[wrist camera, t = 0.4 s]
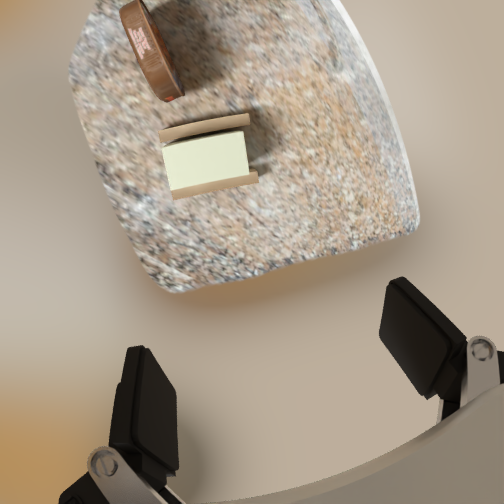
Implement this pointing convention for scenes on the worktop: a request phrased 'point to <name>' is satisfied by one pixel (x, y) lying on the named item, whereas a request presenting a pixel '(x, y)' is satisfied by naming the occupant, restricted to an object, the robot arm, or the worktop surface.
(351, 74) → the worktop surface
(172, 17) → the worktop surface
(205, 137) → the block
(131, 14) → the tin
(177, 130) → the chute
